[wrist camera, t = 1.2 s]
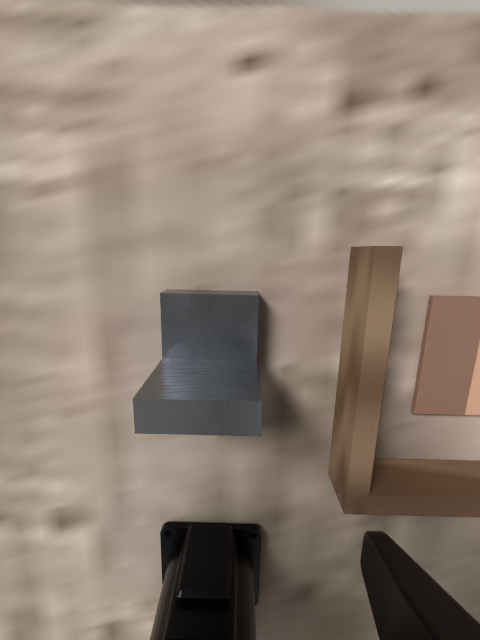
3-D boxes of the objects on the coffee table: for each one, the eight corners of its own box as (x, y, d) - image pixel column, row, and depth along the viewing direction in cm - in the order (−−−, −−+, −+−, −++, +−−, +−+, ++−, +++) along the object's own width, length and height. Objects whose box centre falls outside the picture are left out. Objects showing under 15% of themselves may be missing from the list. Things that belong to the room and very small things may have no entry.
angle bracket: (254, 375, 18) (261, 435, 12) (169, 373, 18) (135, 433, 12) (257, 291, 17) (266, 312, 11) (167, 289, 17) (127, 309, 11)
